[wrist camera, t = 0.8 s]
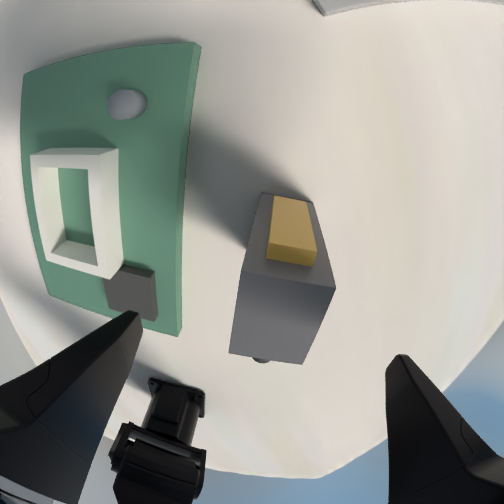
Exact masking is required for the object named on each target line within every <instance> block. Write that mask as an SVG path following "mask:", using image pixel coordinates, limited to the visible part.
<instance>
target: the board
mask: <svg viewBox="0 0 504 504" xmlns="http://www.w3.org/2000/svg"><path fill="white" fill-rule="evenodd" d="M200 53H201V46H199V45H198V44H196V43H195V42H194V43H165V44H152V45H142V46H133V47H126V48H119V49H113V50H107V51H102V52H97V53H92V54H88V55H83V56H79V57H75V58H72V59H68V60H64V61H61V62H57V63H54V64H51V65H48V66H45V67H42V68H39V69H36V70H33V71H31V72H28V73H25V74H24V77H23V86H22V98H21V119H20V141H21V162H22V175H23V184H24V192H25V199H26V206H27V212H28V218H29V223H30V228H31V233H32V237H33V242H34V246H35V250H36V254H37V258H38V261H39V265H40V268H41V272H42V275H43V278H44V281H45V285H46V288H47V291H48V294H49V295H51V296H53V297H56V298H58V299H60V300H63V301H66V302H68V303H71V304H73V305H76V306H79V307H81V308H84V309H87V310H90V311H92V312H95V313H98V314H101V315H104V316H107V317H110V318H113V319H114V318H115V317H117V316H119V315H120V314H122V313H124V312H125V311H127V310H133V311H136V312H139V313H140V315H141V321H142V327H143V328H146V329H149V330H153V331H157V332H160V333H164V334H168V335H172V336H176V337H178V335H179V333H180V331H181V328H182V295H181V268H182V226H183V205H184V188H185V174H186V161H187V150H188V140H189V130H190V121H191V113H192V105H193V97H194V90H195V83H196V77H197V70H198V64H199V58H200Z"/></svg>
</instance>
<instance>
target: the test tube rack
mask: <svg viewBox="0 0 504 504" xmlns="http://www.w3.org/2000/svg"><path fill="white" fill-rule="evenodd" d="M407 1H421V0H313V2H314V3H315V5H316V6H317V7H318V9H319V10H320V12H321V13H322V15H323V16H324V17H326V16H330V15H333V14H337V13H341V12H346V11H350V10H354V9H359V8H364V7H370V6H375V5H382V4H389V3H397V2H407ZM464 1H477V2H486V3H494V4H500V5H504V0H464Z"/></svg>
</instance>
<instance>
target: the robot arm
mask: <svg viewBox="0 0 504 504" xmlns="http://www.w3.org/2000/svg"><path fill="white" fill-rule="evenodd" d="M142 333H143V327H142V321H141V315H140V313H139V312H136V311H133V310H127V311H125V312H124V313H122V314H120V315H119V316H117V317H115V318H114V319H112V320H111V321H109V322H107V323H106V324H104V325H102V326H101V327H99V328H98V329H96V330H94V331H93V332H91V333H90V334H88V335H86V336H85V337H83V338H82V339H80V340H78V341H77V342H75V343H74V344H72V345H70V346H69V347H67V348H66V349H64V350H63V351H61V352H59V353H58V354H56V355H55V356H53V357H51V360H50V359H48V360H47V361H45V362H44V363H42V364H40V365H39V366H37V367H35V368H34V369H32V370H30V371H28V372H27V373H25V374H23V375H21V376H19V377H17V378H15V379H13V380H11V381H9V382H7V383H5V384H3V385H1V386H0V504H52V503H53V500H57V501H60V502H63V503H66V504H78V501H79V498H80V495H81V492H82V489H83V486H84V483H85V481H86V478H87V475H88V472H89V469H90V467H91V463H92V461H93V458H94V455H95V453H96V450H97V448H98V445H99V443H100V440H101V438H102V435H103V433H104V430H105V428H106V425H107V423H108V420H109V418H110V416H111V413H112V411H113V409H114V406H115V404H116V402H117V399H118V397H119V395H120V393H121V390H122V388H123V386H124V384H125V381H126V379H127V377H128V375H129V372H130V370H131V367H132V364H133V361H134V358H135V355H136V352H137V349H138V346H139V343H140V340H141V337H142ZM385 382H386V419H387V433H388V451H389V500H388V501H389V502H388V504H504V458H502V457H500V456H499V455H497V454H496V453H495V452H494V451H493V450H492V449H491V448H490V447H489V446H488V445H487V444H486V443H485V442H484V441H483V440H482V439H481V438H480V436H479V435H477V433H476V432H475V431H474V430H473V429H472V428H471V427H470V425H469V424H468V423H467V422H466V421H465V420H464V418H463V417H461V415H460V414H459V412H458V411H457V410H456V409H455V408H454V407H453V405H452V404H451V403H450V402H449V401H448V400H447V398H446V397H445V396H444V395H443V394H442V393H441V392H440V390H439V389H438V388H437V387H436V386H435V385H434V384H433V382H432V381H431V380H430V379H429V378H428V377H427V376H426V375H425V374H424V372H423V371H422V370H421V369H420V368H419V367H418V366H417V365H416V364H415V363H414V361H413V360H412V359H411V358H410V357H409V356H408V355H405V354H398V355H396V356H395V358H394V359H393V360H392V362H391V363H390V364H389V366H388V367H387V369H386V372H385ZM148 384H149V388H150V391H151V395H152V399H151V402H150V404H149V407H148V410H147V412H146V415H145V418H144V420H143V423H142V426H141V427H139V426H137V425H135V424H134V423H132V422H130V421H129V423H128V424H126V423H122V425H121V427H120V430H119V432H118V435H117V437H116V439H115V441H114V443H113V445H112V447H111V449H110V451H109V454H108V455H109V457H110V459H111V464H112V467H111V470H112V471H114V472H116V473H117V476H116V479H115V482H114V485H113V490H114V493H115V496H116V499H117V502H118V504H192V501H193V499H197V498H198V496H199V494H200V492H201V490H202V487H203V482H204V472H205V461H206V450H204V449H198V448H195V447H192V446H191V443H192V439H193V435H194V431H195V428H196V424H197V420H198V417H200V418H203V417H204V415H205V393H203V392H201V391H196V390H192V389H188V388H184V387H180V386H177V385H173V384H169V383H166V382H162V381H159V380H156V379H152V378H150V379H149V380H148ZM129 438H132V439H134V440H135V442H133V441H131V440H129Z"/></svg>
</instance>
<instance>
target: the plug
mask: <svg viewBox="0 0 504 504" xmlns="http://www.w3.org/2000/svg"><path fill="white" fill-rule="evenodd" d="M335 290H336V285H335V281H334V277H333V273H332V269H331V265H330V261H329V257H328V253H327V250H326V246H325V242H324V238H323V235H322V231H321V228H320V224H319V221H318V217H317V214H316V211H315V207H314V204H313V203H312V202H307V201H302V200H297V199H292V198H287V197H282V196H277V195H272V194H266V193H261V196H260V200H259V203H258V207H257V211H256V215H255V219H254V223H253V226H252V230H251V234H250V238H249V242H248V246H247V250H246V253H245V257H244V261H243V265H242V269H241V274H240V280H239V287H238V293H237V300H236V306H235V313H234V319H233V326H232V333H231V339H230V346H229V353H231V354H236V355H242V356H247V357H252V358H253V359H254V360H255V361H256V362H259V363H267V362H269V361H270V360H272V361H278V362H285V363H293V364H301V365H302V364H303V362H304V360H305V358H306V356H307V354H308V352H309V350H310V347H311V345H312V343H313V341H314V339H315V337H316V334H317V332H318V330H319V328H320V325H321V323H322V321H323V319H324V316H325V314H326V312H327V309H328V307H329V304H330V302H331V300H332V297H333V295H334V292H335Z"/></svg>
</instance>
